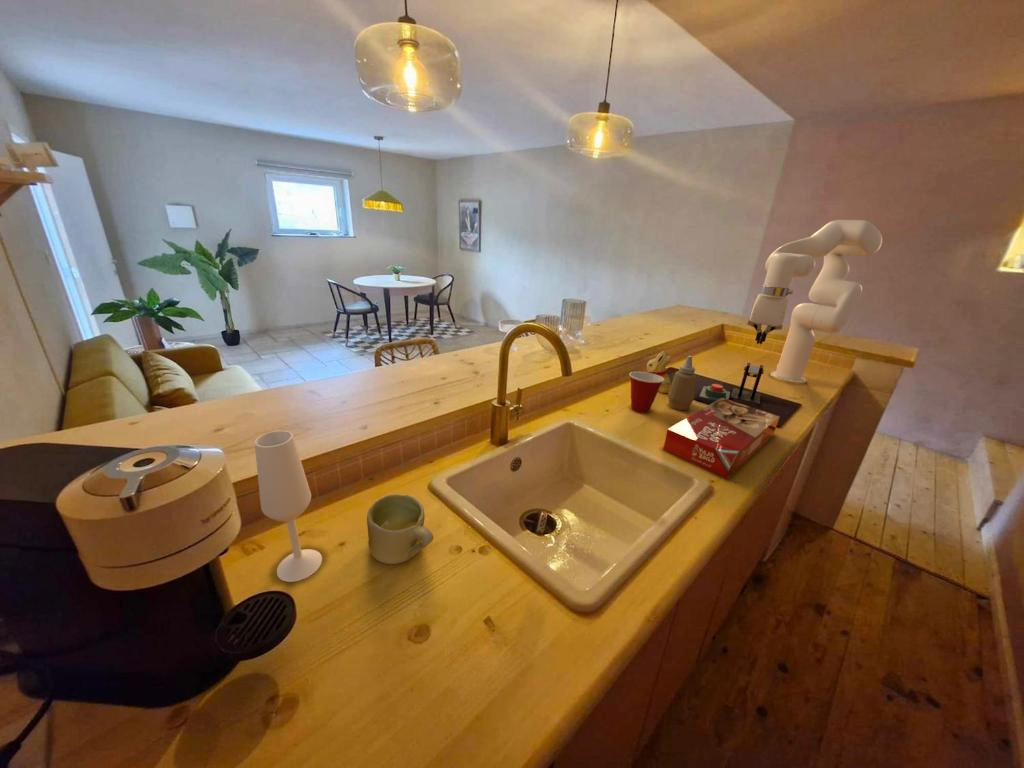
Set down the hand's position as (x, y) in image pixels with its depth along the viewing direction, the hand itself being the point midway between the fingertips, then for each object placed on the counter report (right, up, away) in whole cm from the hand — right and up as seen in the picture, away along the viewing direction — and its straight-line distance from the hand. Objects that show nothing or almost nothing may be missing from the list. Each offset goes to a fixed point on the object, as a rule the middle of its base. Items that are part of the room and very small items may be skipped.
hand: (759, 343), depth 141 cm
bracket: (-5, -20, 0) cm, 21 cm away
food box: (-30, -32, -31) cm, 54 cm away
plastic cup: (-47, -23, -13) cm, 54 cm away
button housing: (-18, -20, -2) cm, 27 cm away
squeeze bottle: (-34, -23, -10) cm, 42 cm away
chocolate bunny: (-36, -17, +4) cm, 41 cm away
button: (-17, -17, -3) cm, 25 cm away
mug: (-109, -44, -73) cm, 138 cm away
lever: (-2, -12, 0) cm, 12 cm away
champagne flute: (-125, -45, -77) cm, 153 cm away
